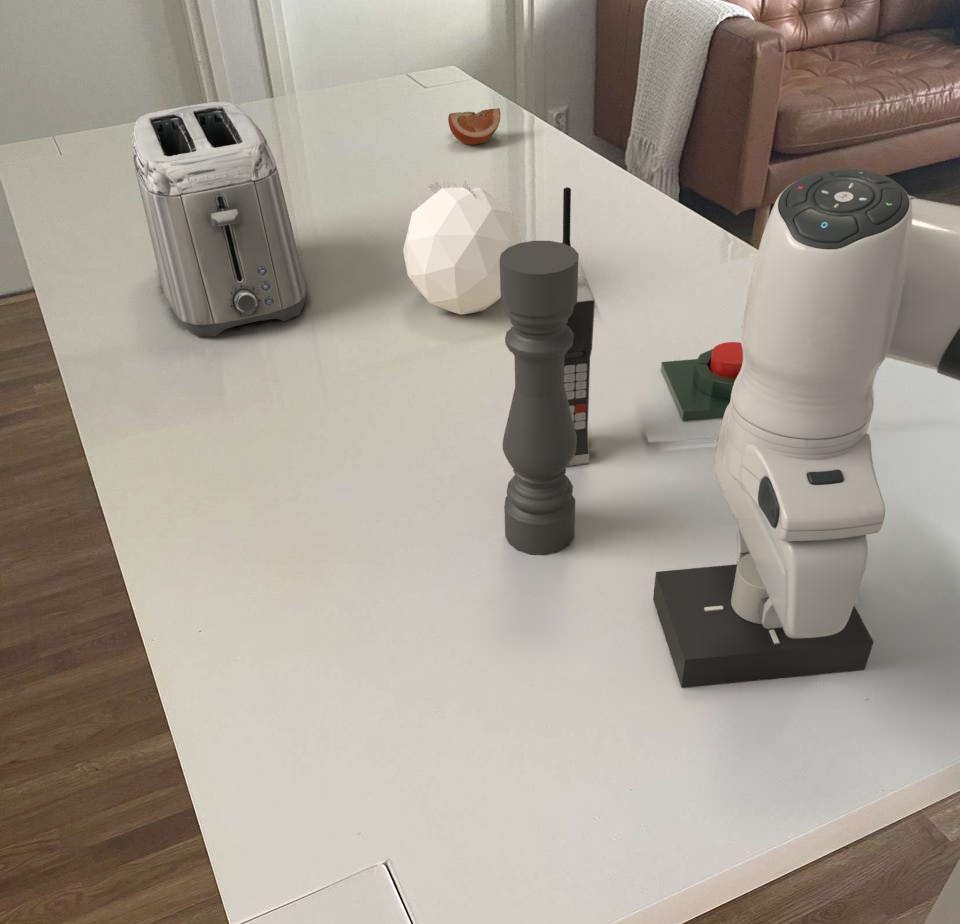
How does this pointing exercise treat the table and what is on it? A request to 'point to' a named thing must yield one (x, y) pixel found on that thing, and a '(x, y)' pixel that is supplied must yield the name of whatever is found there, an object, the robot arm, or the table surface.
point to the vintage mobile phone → (578, 352)
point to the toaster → (217, 217)
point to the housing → (697, 388)
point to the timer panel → (742, 635)
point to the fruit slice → (474, 125)
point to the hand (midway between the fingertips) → (760, 596)
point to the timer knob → (747, 590)
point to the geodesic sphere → (459, 247)
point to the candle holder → (539, 394)
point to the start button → (727, 359)
